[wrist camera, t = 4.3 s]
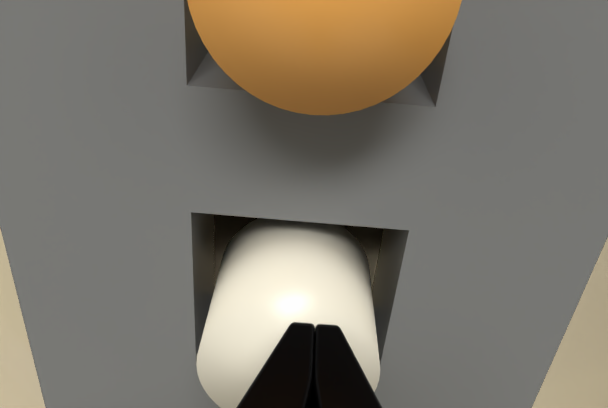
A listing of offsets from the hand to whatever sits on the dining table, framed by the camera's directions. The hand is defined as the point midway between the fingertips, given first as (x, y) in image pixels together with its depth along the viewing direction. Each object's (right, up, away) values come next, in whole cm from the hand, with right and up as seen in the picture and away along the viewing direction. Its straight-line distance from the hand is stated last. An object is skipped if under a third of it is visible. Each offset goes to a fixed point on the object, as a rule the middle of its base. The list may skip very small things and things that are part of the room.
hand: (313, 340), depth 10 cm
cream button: (0, +1, +5) cm, 5 cm away
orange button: (0, +7, +1) cm, 7 cm away
